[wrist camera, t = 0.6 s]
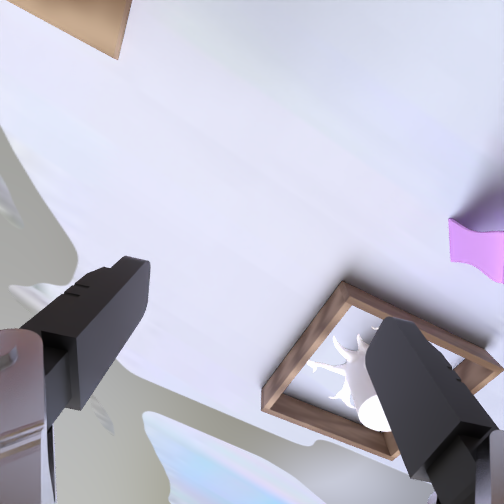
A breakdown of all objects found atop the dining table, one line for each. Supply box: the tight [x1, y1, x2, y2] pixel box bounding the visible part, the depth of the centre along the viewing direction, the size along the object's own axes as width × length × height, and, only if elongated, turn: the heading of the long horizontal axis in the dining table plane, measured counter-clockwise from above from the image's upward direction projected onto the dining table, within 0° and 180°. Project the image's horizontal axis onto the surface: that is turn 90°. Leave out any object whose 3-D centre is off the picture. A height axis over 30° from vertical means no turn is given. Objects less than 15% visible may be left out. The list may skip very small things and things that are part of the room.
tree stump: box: [307, 327, 391, 432], centre depth 42 cm, size 20×19×8 cm
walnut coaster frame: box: [261, 281, 504, 461], centre depth 43 cm, size 25×26×4 cm
